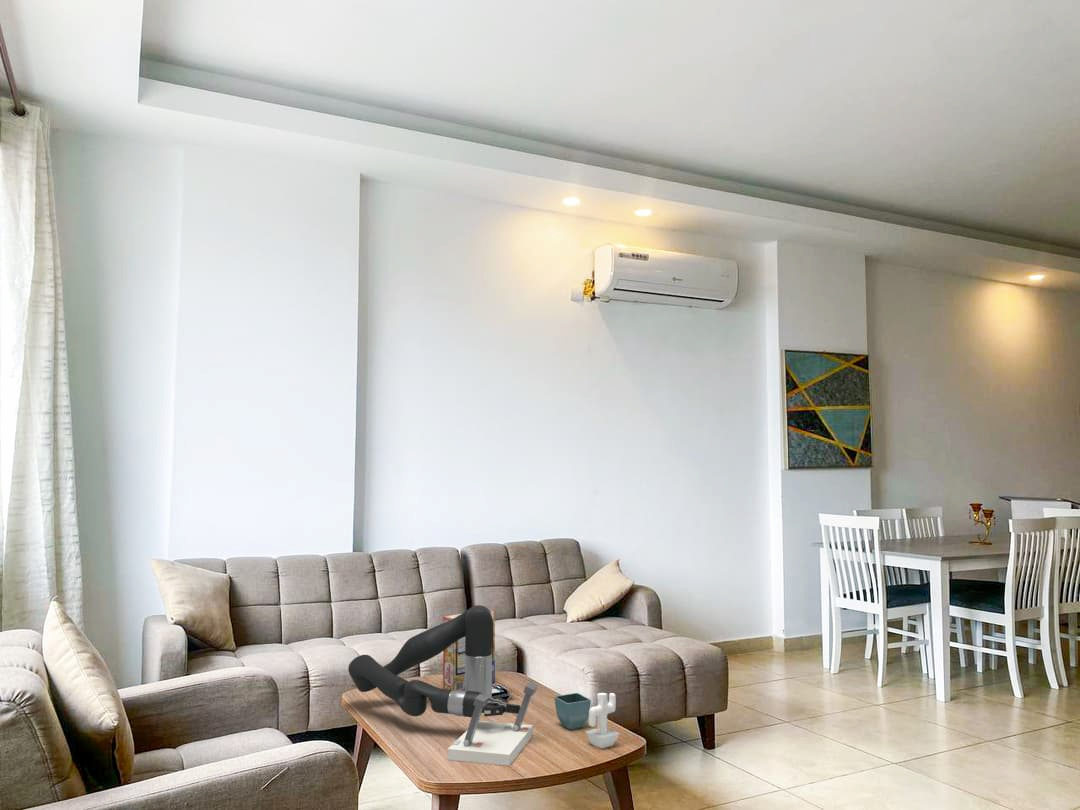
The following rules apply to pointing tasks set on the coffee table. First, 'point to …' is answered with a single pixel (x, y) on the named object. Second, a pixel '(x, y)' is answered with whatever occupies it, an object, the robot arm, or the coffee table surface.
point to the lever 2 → (524, 704)
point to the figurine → (602, 721)
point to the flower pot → (572, 710)
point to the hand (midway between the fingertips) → (519, 709)
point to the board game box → (460, 660)
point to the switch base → (492, 744)
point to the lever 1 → (475, 718)
